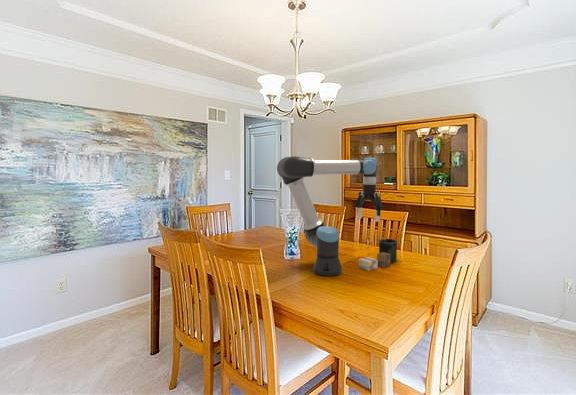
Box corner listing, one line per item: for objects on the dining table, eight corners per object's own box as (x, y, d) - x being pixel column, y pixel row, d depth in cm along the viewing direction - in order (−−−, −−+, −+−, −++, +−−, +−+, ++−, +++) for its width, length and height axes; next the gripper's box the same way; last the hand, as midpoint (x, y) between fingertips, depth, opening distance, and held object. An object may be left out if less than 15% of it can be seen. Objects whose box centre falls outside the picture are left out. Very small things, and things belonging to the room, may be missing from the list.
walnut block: (383, 267, 178) (384, 255, 178) (377, 265, 182) (377, 253, 182) (390, 266, 181) (390, 254, 180) (383, 264, 185) (383, 252, 184)
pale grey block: (368, 271, 173) (368, 261, 173) (359, 267, 179) (359, 258, 179) (377, 268, 177) (377, 259, 177) (367, 265, 183) (368, 257, 182)
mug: (375, 261, 190) (376, 241, 189) (382, 255, 203) (383, 236, 202) (394, 264, 185) (395, 243, 184) (400, 258, 197) (401, 238, 196)
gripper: (391, 184, 181) (389, 222, 183) (358, 183, 202) (357, 216, 204) (382, 185, 177) (380, 223, 179) (349, 183, 198) (348, 217, 199)
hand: (368, 219), depth 191 cm, fingers open, 13 cm apart
